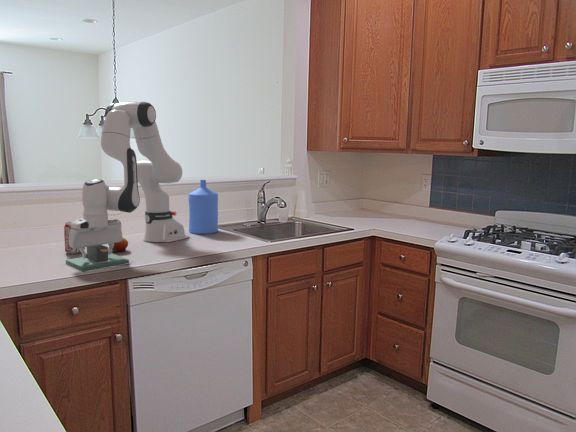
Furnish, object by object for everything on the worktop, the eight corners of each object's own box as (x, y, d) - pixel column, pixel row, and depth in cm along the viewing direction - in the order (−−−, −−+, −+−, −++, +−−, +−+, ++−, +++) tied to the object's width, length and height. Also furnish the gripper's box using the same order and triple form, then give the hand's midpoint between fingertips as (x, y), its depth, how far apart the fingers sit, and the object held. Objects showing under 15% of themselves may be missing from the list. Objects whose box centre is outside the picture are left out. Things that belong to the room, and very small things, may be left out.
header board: (109, 256, 196) (109, 243, 195) (129, 263, 185) (128, 249, 184) (65, 263, 183) (65, 249, 182) (83, 271, 172) (83, 257, 171)
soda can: (78, 249, 205) (76, 220, 203) (86, 252, 201) (85, 222, 199) (62, 252, 200) (60, 222, 198) (70, 255, 196) (68, 224, 194)
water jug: (223, 232, 252) (223, 180, 248) (199, 235, 242) (198, 181, 237) (207, 228, 264) (207, 178, 259) (183, 231, 253) (182, 179, 249)
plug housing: (97, 256, 188) (97, 243, 187) (111, 262, 180) (111, 248, 179) (87, 258, 185) (86, 245, 184) (100, 264, 177) (100, 250, 176)
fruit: (101, 248, 203) (110, 231, 205) (116, 255, 209) (125, 238, 210) (109, 251, 198) (118, 234, 199) (125, 258, 203) (133, 241, 205)
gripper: (117, 217, 191) (118, 250, 193) (65, 223, 176) (67, 259, 178) (124, 219, 187) (126, 253, 189) (73, 225, 172) (74, 262, 174)
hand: (97, 256), depth 183 cm, fingers open, 8 cm apart
